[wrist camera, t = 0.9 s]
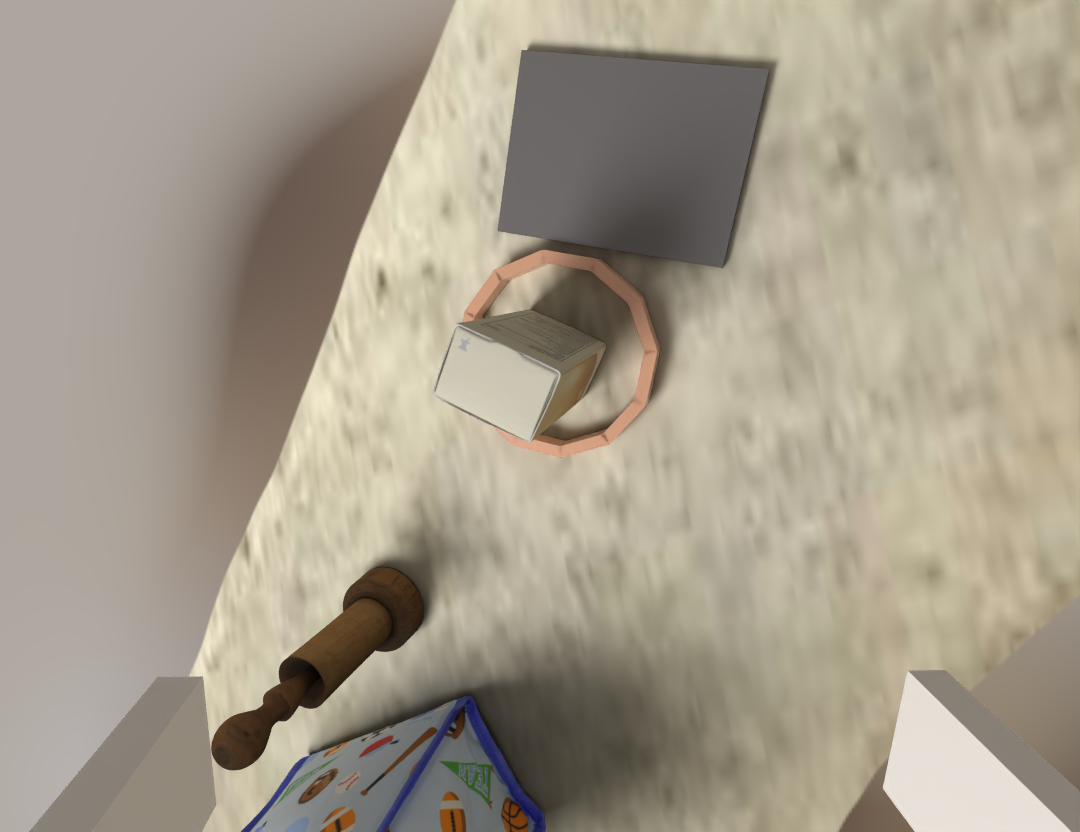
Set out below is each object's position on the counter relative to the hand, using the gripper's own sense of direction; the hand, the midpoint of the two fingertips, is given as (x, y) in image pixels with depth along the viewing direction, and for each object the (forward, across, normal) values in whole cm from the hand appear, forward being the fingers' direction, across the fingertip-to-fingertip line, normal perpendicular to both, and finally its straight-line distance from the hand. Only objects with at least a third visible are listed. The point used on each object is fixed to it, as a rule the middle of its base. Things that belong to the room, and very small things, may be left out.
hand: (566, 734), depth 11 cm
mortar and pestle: (+38, -10, -20) cm, 44 cm away
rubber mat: (+31, +6, +15) cm, 35 cm away
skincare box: (+32, +3, +3) cm, 33 cm away
